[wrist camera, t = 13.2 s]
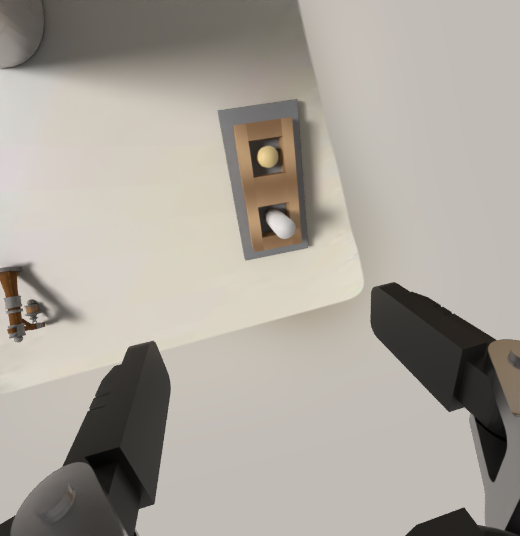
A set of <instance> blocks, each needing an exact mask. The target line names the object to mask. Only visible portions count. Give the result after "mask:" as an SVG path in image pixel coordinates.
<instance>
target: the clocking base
mask: <svg viewBox="0 0 520 536" xmlns="http://www.w3.org/2000/svg"><path fill="white" fill-rule="evenodd" d="M218 115H219V121H220V126H221V132H222V137H223V143H224V148H225V154H226V159H227V164H228V170H229V175H230V181H231V186H232V192H233V197H234V203H235V208H236V214H237V219H238V224H239V230H240V235H241V241H242V246H243V252H244V257H245V260H250V259H255V258H260V257H265V256H270V255H275V254H280V253H285V252H290V251H295V250H300V249H305V248H308V241H307V227H306V214H305V200H304V186H303V173H302V159H301V146H300V132H299V119H298V105H297V99H295V100H288V101H281V102H274V103H267V104H260V105H253V106H246V107H239V108H232V109H225V110H218ZM287 117H292V122H293V135H294V148H295V160H296V173H297V185H298V198H299V211H300V223H301V236H302V243H299V244H294V245H289V246H284V247H279V248H273V249H268V250H263V251H258V252H254V250H253V247H252V242H251V236H250V230H249V224H248V218H247V212H246V206H245V200H244V193H243V187H242V181H241V175H240V169H239V163H238V157H237V151H236V144H235V138H234V132H233V126H234V125H239V124H246V123H253V122H260V121H267V120H274V119H280V118H287ZM249 149H250V156H251V163H252V170H253V176H258V175H264V174H270V173H276V172H281V163H280V154H279V144H278V137H277V138H270V139H264V140H257V141H251V142H249ZM258 211H259V218H260V225H261V232H262V233H263V232H268V231H274V232H275V233H276V234H277V236H278V237H280V238H282V239H288V238H290V237H291V236H292V235H293V234H294V233H295V230H296V226H295V223H294V222H293V221H292V220H291V219H290V218H288V217H287V216H286V213H285V203H280V204H274V205H269V206H263V207H258Z"/></svg>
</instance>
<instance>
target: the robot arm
mask: <svg viewBox="0 0 520 536" xmlns="http://www.w3.org/2000/svg"><path fill="white" fill-rule="evenodd" d="M43 28H44V15H43V6H42V2H41V0H0V68H5V67H13V66H16V65H19V64H21V63H24V62H25V61H26V60H28V59H29V58H30V57H31V56H33V54H34V53H35V51H36V50H37V48H38V47H39V45H40V42H41V39H42V36H43ZM371 327H372V329H373V332H374V334H375V335H376V337H377V338H378V339H379V340H380V341H381V342H382V343H383V344H384V345H385V346H386V347H387V348H388V349H389V350H390V351H391V352H392V353H393V354H394V356H395V357H396V358H397V359H398V360H399V361H400V362H401V363H402V364H403V365H404V366H405V367H406V368H407V369H408V370H409V371H410V372H411V373H412V374H413V375H414V376H415V377H416V378H417V379H418V380H419V381H420V382H421V383H422V385H423V386H424V387H425V388H426V389H427V390H428V391H429V392H430V393H431V394H432V395H433V396H434V397H435V398H436V399H437V400H438V401H439V402H440V403H441V404H442V405H443V406H444V407H445V408H446V409H447V410H448V411H449V412H451V411H454V410H457V409H460V408H463V407H465V408H466V409H467V410H468V411H469V412H470V413H471V414H470V418H469V421H470V426H471V430H472V435H473V440H474V444H475V449H476V453H477V458H478V462H479V466H480V471H481V475H482V479H483V484H484V490H485V524H486V526H480V525H477V524H476V523H475V521H474V520H473V519H472V517H471V516H470V515H469V513H468V512H467V511H466V509H465V508H461V509H459V510H456V511H453V512H450V513H448V514H445V515H442V516H440V517H437V518H434V519H432V520H429V521H426V522H424V523H421V524H418V525H416V526H415V527H414V528H413V529H412V530H411V531H410V532H409V533H408V534H407V535H406V536H520V341H519V340H510V339H502V340H496V339H494V338H492V337H491V336H489V335H488V334H486V333H484V332H483V331H481V330H480V329H478V328H476V327H475V326H473V325H471V324H470V323H468V322H467V321H465V320H463V319H462V318H460V317H459V316H457V315H455V314H452V313H451V312H450V311H449V310H447V309H446V308H444V307H441V306H440V305H439V304H438V303H436V302H435V301H433V300H431V299H429V298H428V297H425V296H422V295H420V294H417V293H414V292H409V291H408V290H406V289H405V288H403V287H402V286H400V285H399V284H397V283H395V282H393V283H389V284H384V285H380V286H377V287H374V288H373V289H372V291H371ZM170 390H171V387H170V379H169V375H168V372H167V370H166V367H165V364H164V362H163V359H162V357H161V355H160V352H159V350H158V347H157V345H156V343H155V342H154V341H150V342H146V343H142V344H138V345H134V346H130V347H129V348H128V349H127V352H126V354H125V357H124V359H123V362H122V364H121V365H117V366H114V367H113V368H112V370H111V371H110V372H109V373H108V374H107V375H106V376H105V378H104V379H103V380H102V382H101V384H100V386H99V388H98V391H97V393H96V395H95V396H96V397H95V398H94V399H93V401H92V403H91V406H90V411H88V412H87V414H86V416H85V419H84V421H83V423H82V425H81V427H80V430H79V432H78V434H77V436H76V438H75V440H74V443H73V445H72V447H71V449H70V451H69V453H68V456H67V458H66V460H65V462H64V464H63V467H61V468H60V469H58V470H56V471H54V472H53V473H52V474H50V475H49V476H47V477H46V478H45V479H44V480H43V481H42V482H40V483H39V484H38V485H37V486H36V488H34V489H33V491H32V492H31V493H30V494H29V495H28V497H27V498H26V499H25V501H24V502H23V503H22V505H21V507H20V508H19V510H18V512H17V514H16V515H15V516H14V517H12V518H10V519H9V520H7V521H5V522H4V523H2V524H0V536H139V534H138V532H137V531H136V530H135V526H136V520H137V516H138V510H139V509H140V508H144V507H146V506H150V505H153V504H154V502H155V496H156V489H157V482H158V475H159V468H160V461H161V455H162V448H163V441H164V433H165V426H166V420H167V413H168V406H169V398H170Z"/></svg>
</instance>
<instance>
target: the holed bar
mask: <svg viewBox="0 0 520 536" xmlns="http://www.w3.org/2000/svg"><path fill="white" fill-rule="evenodd" d="M233 132H234V138H235V144H236V151H237V157H238V163H239V169H240V175H241V181H242V187H243V193H244V200H245V206H246V212H247V218H248V224H249V230H250V236H251V242H252V247H253V250H254V252H258V251H263V250H268V249H273V248H279V247H284V246H289V245H294V244H299V243H302V236H301V223H300V211H299V198H298V185H297V173H296V160H295V148H294V135H293V122H292V117H287V118H280V119H274V120H267V121H260V122H253V123H246V124H239V125H234V126H233ZM277 137H278V144H279V154H280V163H281V172H276V173H270V174H264V175H258V176H253V170H252V163H251V156H250V149H249V142H251V141H257V140H264V139H270V138H277ZM280 203H285V213H286V216H287V217H288V218H290V219H291V220H292V221H293V222H294V223H295V226H296V230H295V233H294V234H293V235H292V236H291V237H290V238H288V239H282V238H280V237H278V236H277V234H276V233H275V232H274V231H268V232H263V233H262V232H261V225H260V218H259V211H258V207H263V206H269V205H274V204H280Z"/></svg>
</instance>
